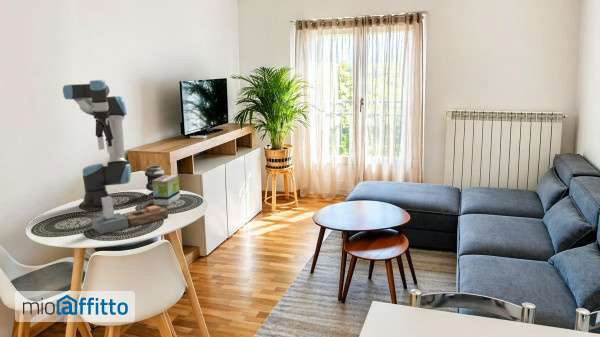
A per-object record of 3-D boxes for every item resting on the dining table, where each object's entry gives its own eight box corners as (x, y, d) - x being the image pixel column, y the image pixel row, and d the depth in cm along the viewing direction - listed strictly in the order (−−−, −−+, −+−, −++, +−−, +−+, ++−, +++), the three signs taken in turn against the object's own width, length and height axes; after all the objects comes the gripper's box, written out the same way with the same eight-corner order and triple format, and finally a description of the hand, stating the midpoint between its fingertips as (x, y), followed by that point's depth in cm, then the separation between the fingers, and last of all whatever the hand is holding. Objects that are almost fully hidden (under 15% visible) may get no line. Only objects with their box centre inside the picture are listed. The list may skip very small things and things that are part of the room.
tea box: (169, 205, 279) (167, 180, 276) (153, 205, 281) (151, 180, 278) (180, 198, 294) (178, 174, 290) (165, 197, 296) (163, 174, 292)
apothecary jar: (156, 198, 296) (153, 169, 292) (142, 195, 302) (139, 167, 298) (170, 193, 306) (168, 165, 302) (157, 191, 312) (154, 163, 308)
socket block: (122, 221, 254) (122, 213, 253) (158, 212, 267) (158, 205, 266) (131, 226, 245) (130, 219, 244) (168, 217, 258) (167, 210, 257)
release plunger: (147, 216, 259) (146, 207, 258) (156, 214, 262) (155, 205, 261) (151, 218, 255) (150, 209, 254) (160, 216, 258) (159, 207, 257)
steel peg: (105, 227, 245) (101, 197, 241) (113, 225, 247) (109, 196, 244) (107, 229, 242) (103, 199, 238) (115, 227, 244) (112, 197, 241)
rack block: (92, 228, 245) (91, 219, 244) (120, 221, 253) (118, 212, 252) (100, 234, 236) (99, 224, 235) (128, 227, 244) (127, 218, 243)
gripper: (85, 109, 255) (91, 149, 260) (101, 112, 237) (106, 155, 241) (100, 108, 260) (105, 147, 265) (116, 111, 241) (121, 152, 246)
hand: (106, 151), depth 253 cm, fingers open, 13 cm apart
